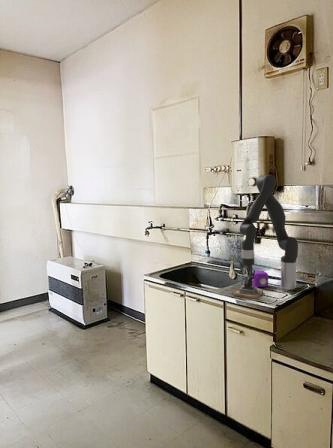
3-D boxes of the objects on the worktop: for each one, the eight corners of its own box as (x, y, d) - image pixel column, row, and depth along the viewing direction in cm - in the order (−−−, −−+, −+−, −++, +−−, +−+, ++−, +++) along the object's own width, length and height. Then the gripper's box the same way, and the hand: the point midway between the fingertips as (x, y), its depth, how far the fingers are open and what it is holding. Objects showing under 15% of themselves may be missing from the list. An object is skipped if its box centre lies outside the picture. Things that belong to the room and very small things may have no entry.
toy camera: (258, 290, 219) (258, 274, 218) (247, 284, 232) (247, 270, 231) (273, 288, 222) (273, 273, 221) (262, 282, 235) (262, 268, 234)
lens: (245, 284, 214) (245, 273, 213) (253, 285, 211) (253, 273, 210) (242, 286, 210) (242, 274, 209) (250, 287, 207) (250, 275, 206)
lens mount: (241, 289, 221) (241, 283, 220) (263, 292, 213) (263, 286, 213) (233, 295, 209) (233, 289, 209) (255, 299, 201) (255, 292, 201)
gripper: (259, 258, 202) (259, 286, 204) (248, 254, 216) (248, 280, 218) (247, 259, 201) (247, 288, 203) (237, 255, 215) (237, 281, 217)
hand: (248, 284), depth 210 cm, fingers closed on lens, 5 cm apart
